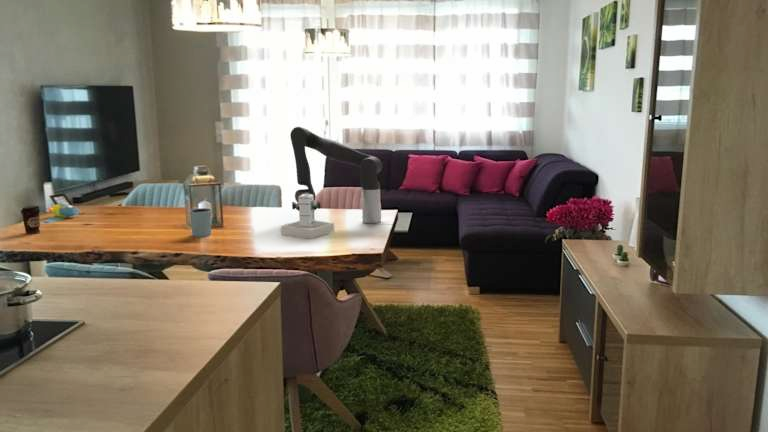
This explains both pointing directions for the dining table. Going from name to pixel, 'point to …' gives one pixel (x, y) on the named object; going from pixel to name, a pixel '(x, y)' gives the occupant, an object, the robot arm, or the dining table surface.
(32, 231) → the coffee cup
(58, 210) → the blue yellow toy
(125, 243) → the dining table surface
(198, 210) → the grey tapered cup
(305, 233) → the tray
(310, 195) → the syrup box
